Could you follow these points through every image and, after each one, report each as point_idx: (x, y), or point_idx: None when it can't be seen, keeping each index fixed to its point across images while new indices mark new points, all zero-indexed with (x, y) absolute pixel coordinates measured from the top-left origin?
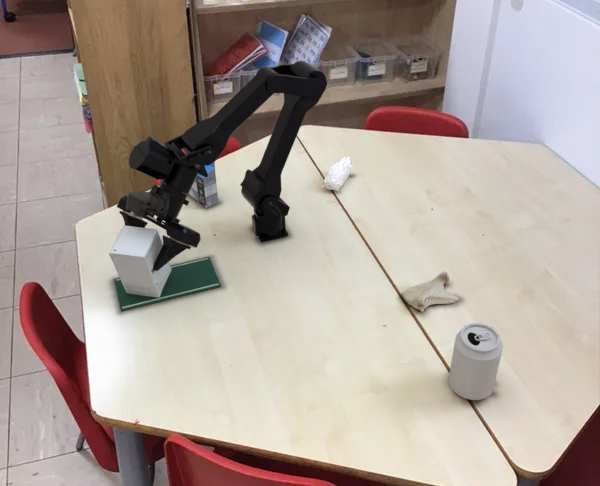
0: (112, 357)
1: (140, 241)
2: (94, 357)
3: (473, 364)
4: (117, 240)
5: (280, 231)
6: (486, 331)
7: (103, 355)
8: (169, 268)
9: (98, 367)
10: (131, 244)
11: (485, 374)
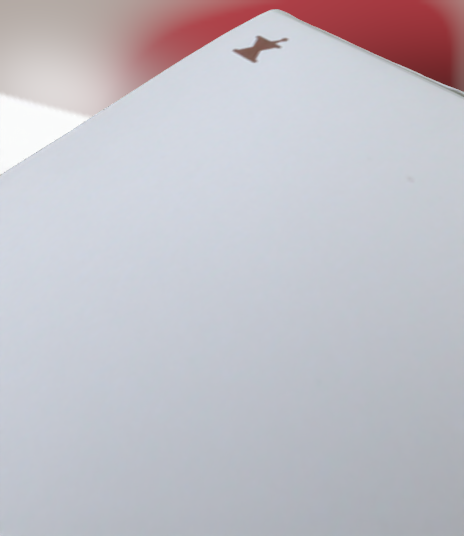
0: (20, 155)
1: (92, 406)
2: (66, 113)
3: None
4: (437, 101)
5: None
6: None
7: (51, 137)
8: None
9: (18, 110)
10: (173, 234)
11: None
